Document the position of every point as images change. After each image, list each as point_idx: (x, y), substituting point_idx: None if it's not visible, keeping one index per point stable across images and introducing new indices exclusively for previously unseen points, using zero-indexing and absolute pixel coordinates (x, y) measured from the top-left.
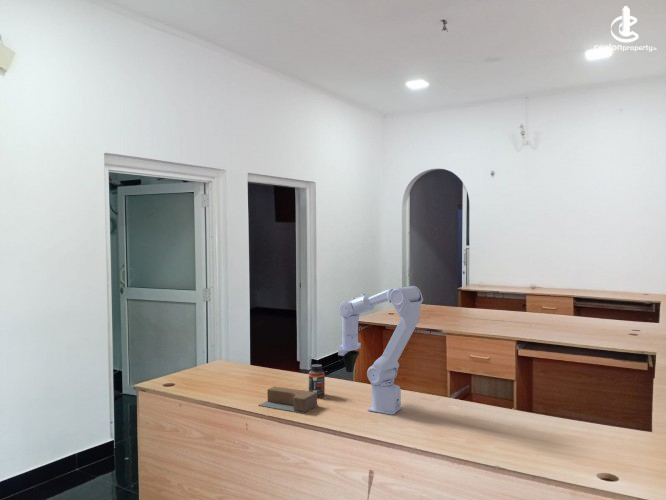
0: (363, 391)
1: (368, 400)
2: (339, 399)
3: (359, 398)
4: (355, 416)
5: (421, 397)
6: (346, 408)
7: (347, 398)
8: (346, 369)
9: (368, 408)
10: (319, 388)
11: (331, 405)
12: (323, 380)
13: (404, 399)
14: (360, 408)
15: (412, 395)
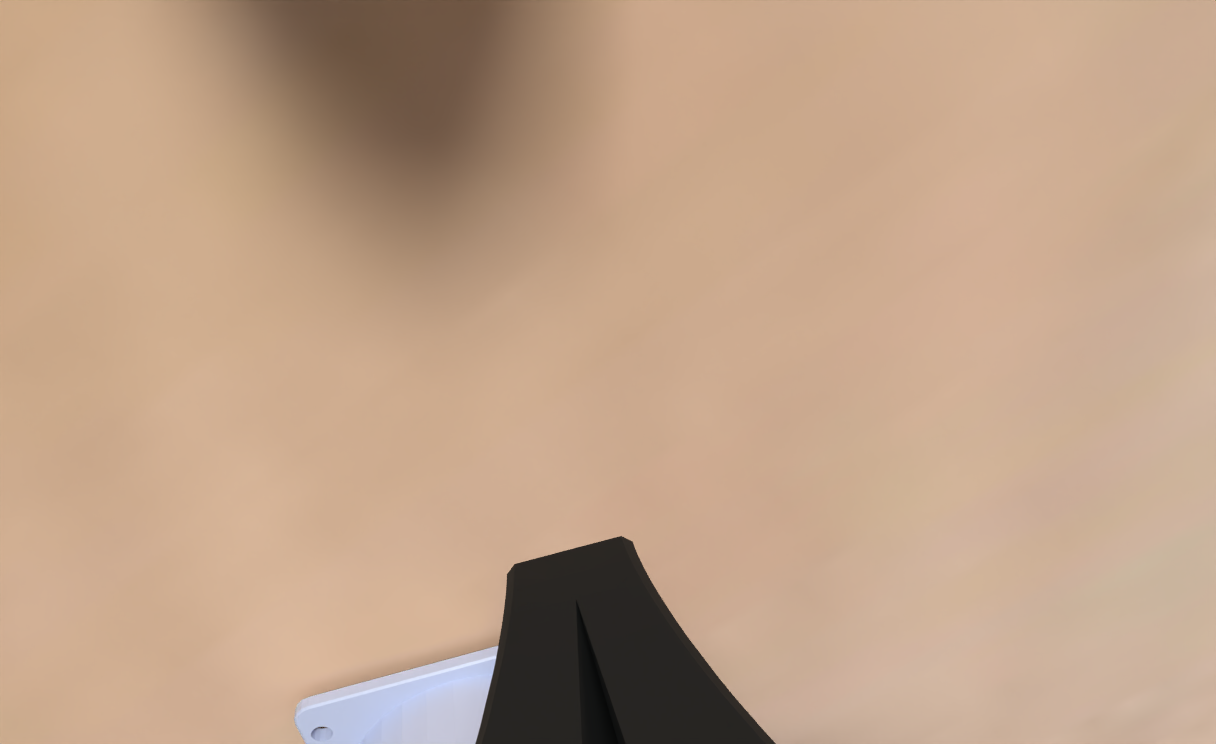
0: (1112, 72)
1: (701, 438)
2: (424, 53)
3: (708, 283)
4: (5, 731)
5: (1139, 735)
6: (142, 465)
7: (578, 130)
8: (511, 626)
9: (333, 702)
10: None
11: (26, 190)
12: None
13: (986, 679)
14: (313, 583)
15: (1178, 647)
